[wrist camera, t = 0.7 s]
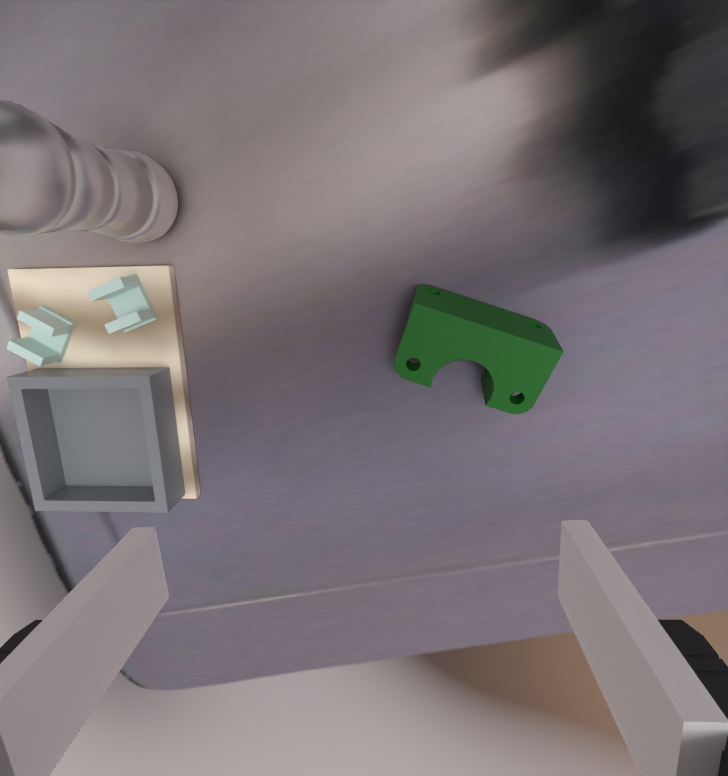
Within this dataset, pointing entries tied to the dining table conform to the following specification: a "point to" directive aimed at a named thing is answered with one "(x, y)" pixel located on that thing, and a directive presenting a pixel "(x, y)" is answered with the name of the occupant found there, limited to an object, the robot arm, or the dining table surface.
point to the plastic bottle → (77, 183)
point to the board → (116, 333)
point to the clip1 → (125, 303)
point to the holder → (99, 438)
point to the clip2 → (43, 336)
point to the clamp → (478, 346)
